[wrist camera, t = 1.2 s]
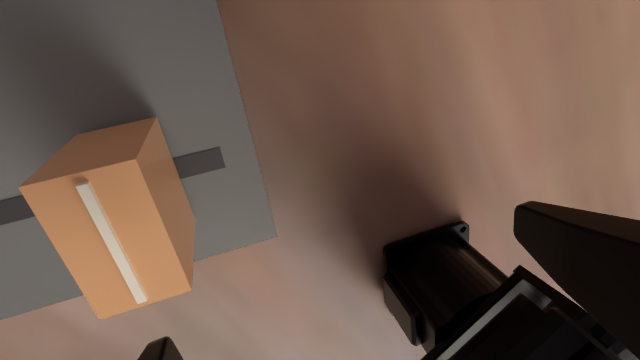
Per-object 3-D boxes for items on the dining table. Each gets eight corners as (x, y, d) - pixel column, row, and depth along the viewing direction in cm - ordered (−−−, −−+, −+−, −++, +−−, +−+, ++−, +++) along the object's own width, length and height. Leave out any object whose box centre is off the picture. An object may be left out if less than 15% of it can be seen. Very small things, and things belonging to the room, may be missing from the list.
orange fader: (156, 116, 14) (134, 161, 10) (195, 219, 17) (191, 294, 12) (77, 134, 14) (14, 190, 9) (127, 238, 16) (97, 324, 12)
